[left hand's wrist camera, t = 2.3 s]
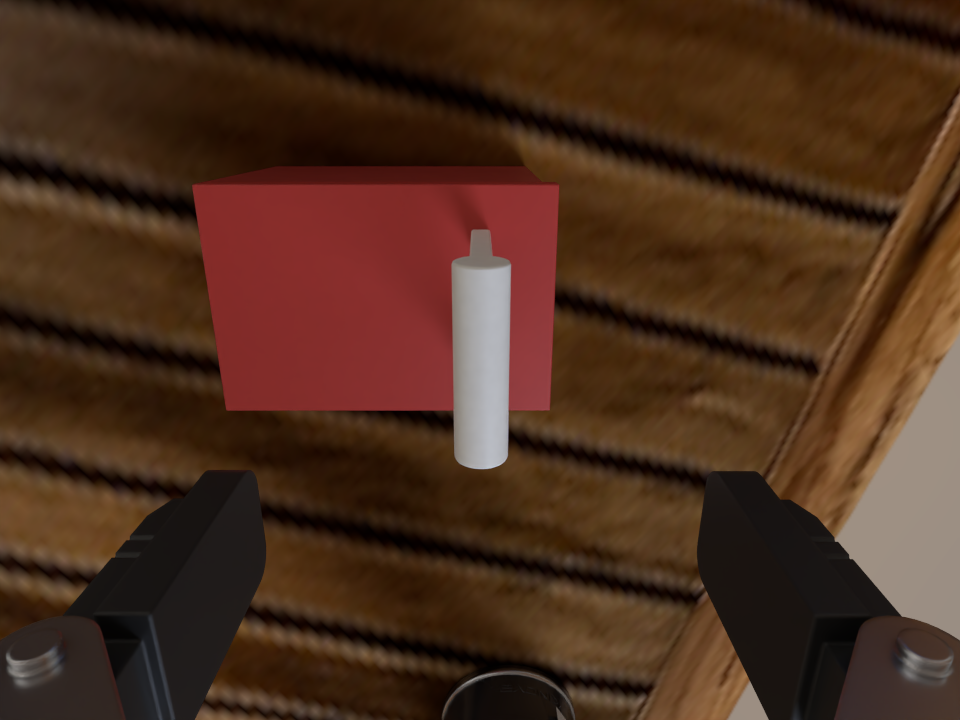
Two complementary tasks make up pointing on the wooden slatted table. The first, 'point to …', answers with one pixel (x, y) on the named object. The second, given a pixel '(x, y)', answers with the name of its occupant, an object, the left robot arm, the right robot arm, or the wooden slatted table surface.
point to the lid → (385, 298)
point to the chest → (386, 174)
